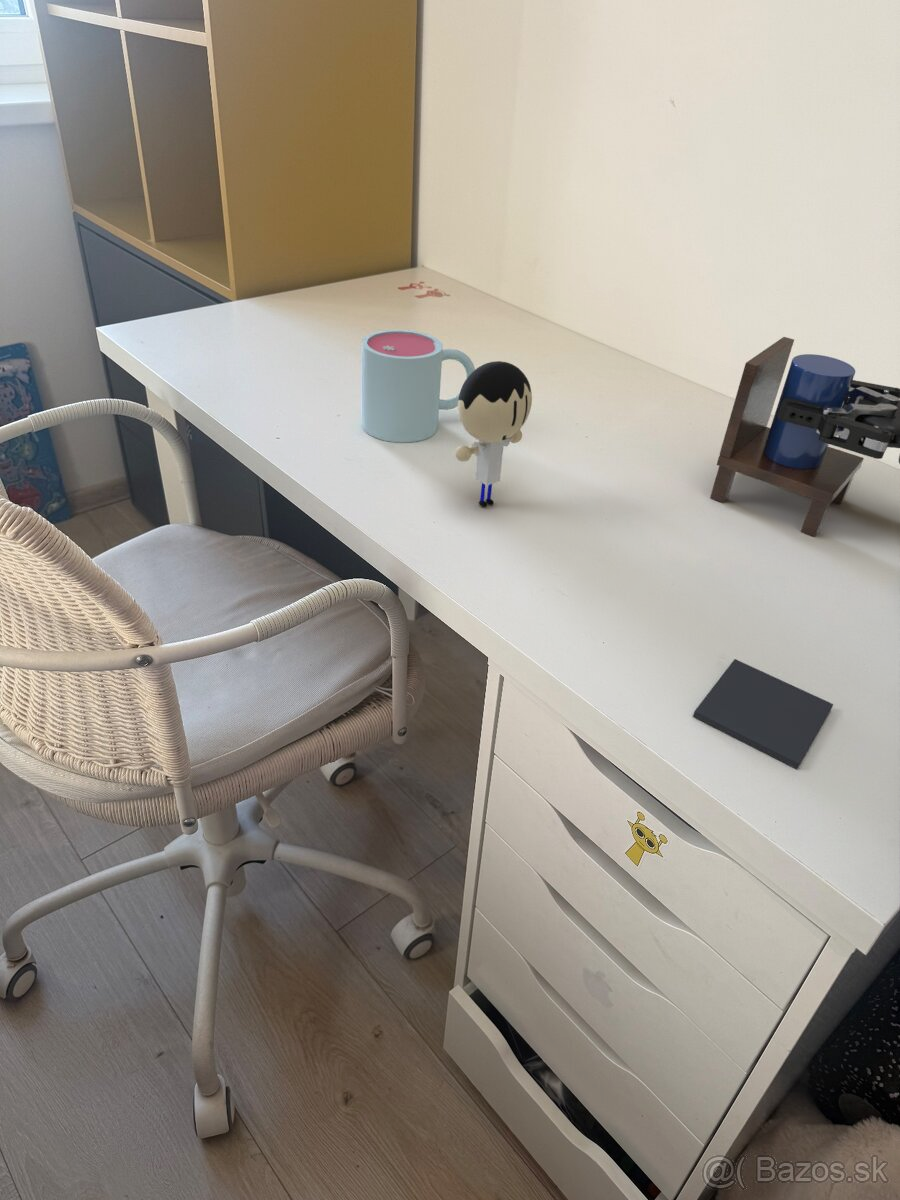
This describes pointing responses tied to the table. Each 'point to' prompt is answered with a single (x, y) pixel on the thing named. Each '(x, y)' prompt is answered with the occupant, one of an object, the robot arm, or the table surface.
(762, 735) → the mat
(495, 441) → the toy
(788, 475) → the miniature wooden chair
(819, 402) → the canister
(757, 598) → the table surface
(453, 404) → the mug
